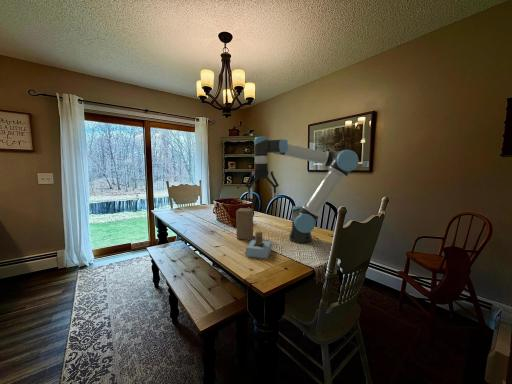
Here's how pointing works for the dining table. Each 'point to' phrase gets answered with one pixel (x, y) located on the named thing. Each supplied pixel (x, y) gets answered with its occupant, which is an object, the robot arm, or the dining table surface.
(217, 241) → the dining table surface
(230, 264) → the dining table surface
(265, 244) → the socket block
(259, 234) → the walnut peg
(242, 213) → the wooden block
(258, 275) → the dining table surface
